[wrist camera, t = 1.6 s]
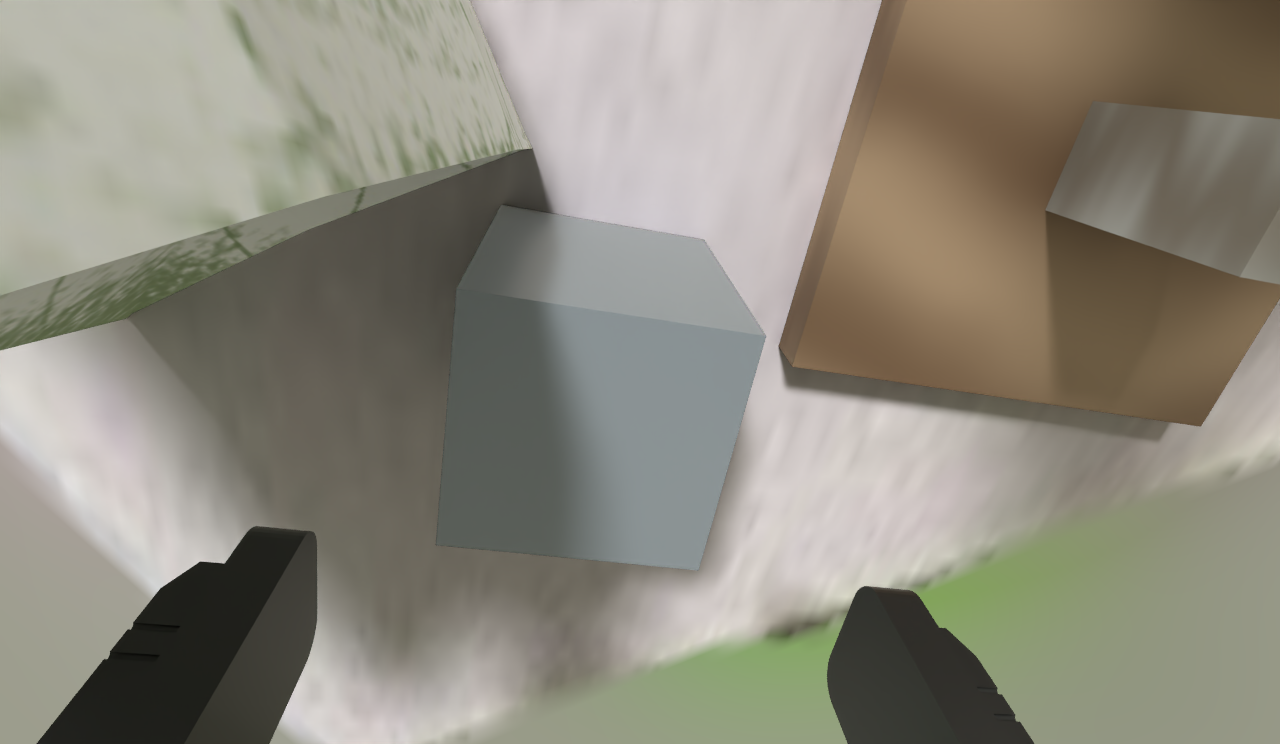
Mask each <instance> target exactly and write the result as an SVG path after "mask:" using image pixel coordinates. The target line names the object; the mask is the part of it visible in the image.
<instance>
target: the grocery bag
mask: <svg viewBox="0 0 1280 744" xmlns="http://www.w3.org/2000/svg"><path fill="white" fill-rule="evenodd" d="M524 149H533V148H532V147H531V145H530V143H529V141H528V139H527V137H526V135H525V132H524V130H523V127H522V125H521V123H520V120H519V118H518V115H517V113H516V111H515V108H514V106H513V103H512V101H511V98H510V96H509V94H508V91H507V89H506V86H505V84H504V81H503V79H502V77H501V74H500V72H499V69H498V67H497V65H496V62H495V60H494V57H493V55H492V52H491V50H490V48H489V45H488V43H487V40H486V38H485V36H484V33H483V31H482V28H481V26H480V23H479V21H478V19H477V16H476V14H475V11H474V9H473V7H472V4H471V2H470V0H0V350H4V349H8V348H12V347H15V346H19V345H23V344H27V343H31V342H35V341H39V340H43V339H47V338H51V337H55V336H59V335H63V334H67V333H70V332H74V331H78V330H82V329H86V328H90V327H94V326H98V325H102V324H106V323H110V322H114V321H118V320H122V319H126V318H128V317H129V316H130V315H131V314H132V313H134V312H136V311H138V310H140V309H142V308H145V307H147V306H149V305H151V304H153V303H155V302H157V301H159V300H161V299H163V298H166V297H168V296H170V295H172V294H174V293H176V292H178V291H180V290H182V289H185V288H187V287H189V286H191V285H193V284H195V283H197V282H199V281H201V280H203V279H206V278H208V277H210V276H212V275H214V274H216V273H218V272H220V271H222V270H225V269H227V268H229V267H231V266H233V265H235V264H237V263H239V262H241V261H243V260H246V259H248V258H250V257H252V256H254V255H256V254H258V253H260V252H262V251H265V250H267V249H269V248H271V247H273V246H275V245H277V244H279V243H281V242H283V241H286V240H288V239H290V238H292V237H294V236H296V235H298V234H300V233H302V232H304V231H307V230H309V229H311V228H314V227H317V226H320V225H322V224H325V223H328V222H330V221H333V220H336V219H338V218H341V217H344V216H346V215H349V214H352V213H354V212H357V211H360V210H362V209H365V208H368V207H371V206H373V205H376V204H379V203H381V202H384V201H387V200H389V199H392V198H395V197H397V196H400V195H403V194H405V193H408V192H411V191H414V190H416V189H419V188H422V187H424V186H427V185H430V184H432V183H435V182H438V181H440V180H443V179H446V178H448V177H451V176H454V175H456V174H459V173H462V172H465V171H467V170H470V169H473V168H475V167H478V166H481V165H483V164H486V163H489V162H491V161H494V160H497V159H499V158H502V157H505V156H507V155H510V154H513V153H516V152H518V151H521V150H524Z"/></svg>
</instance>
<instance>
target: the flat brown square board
mask: <svg viewBox="0 0 1280 744" xmlns="http://www.w3.org/2000/svg"><path fill="white" fill-rule="evenodd" d="M1279 299H1280V0H882V3H881V6H880V10H879V13H878V17H877V20H876V23H875V27H874V30H873V33H872V37H871V40H870V43H869V47H868V50H867V53H866V57H865V60H864V63H863V67H862V70H861V73H860V77H859V80H858V83H857V87H856V90H855V93H854V97H853V100H852V103H851V107H850V110H849V113H848V117H847V120H846V123H845V127H844V130H843V133H842V137H841V140H840V143H839V147H838V150H837V153H836V157H835V160H834V163H833V167H832V170H831V174H830V177H829V180H828V184H827V187H826V190H825V194H824V197H823V200H822V204H821V207H820V210H819V214H818V217H817V220H816V224H815V227H814V230H813V234H812V237H811V240H810V244H809V247H808V250H807V254H806V257H805V260H804V264H803V267H802V270H801V274H800V277H799V280H798V284H797V287H796V290H795V294H794V297H793V300H792V304H791V307H790V310H789V314H788V317H787V321H786V324H785V327H784V331H783V334H782V337H781V341H780V344H779V348H780V349H781V351H782V352H783V354H784V355H785V357H786V358H787V360H788V361H789V363H790V364H791V366H792V367H798V368H805V369H812V370H819V371H825V372H832V373H839V374H846V375H853V376H859V377H866V378H873V379H880V380H887V381H894V382H900V383H907V384H914V385H921V386H928V387H934V388H941V389H948V390H955V391H962V392H969V393H975V394H982V395H989V396H996V397H1003V398H1010V399H1016V400H1023V401H1030V402H1037V403H1044V404H1050V405H1057V406H1064V407H1071V408H1078V409H1085V410H1091V411H1098V412H1105V413H1112V414H1119V415H1126V416H1132V417H1139V418H1146V419H1153V420H1160V421H1166V422H1173V423H1180V424H1187V425H1194V426H1201V425H1202V424H1203V422H1204V421H1205V419H1206V417H1207V416H1208V414H1209V412H1210V411H1211V409H1212V408H1213V406H1214V404H1215V403H1216V401H1217V399H1218V398H1219V396H1220V395H1221V393H1222V391H1223V390H1224V388H1225V386H1226V385H1227V383H1228V382H1229V380H1230V378H1231V377H1232V375H1233V373H1234V372H1235V370H1236V369H1237V367H1238V365H1239V364H1240V362H1241V360H1242V359H1243V357H1244V356H1245V354H1246V352H1247V351H1248V349H1249V347H1250V346H1251V344H1252V343H1253V341H1254V339H1255V338H1256V336H1257V334H1258V333H1259V331H1260V330H1261V328H1262V326H1263V325H1264V323H1265V321H1266V320H1267V318H1268V317H1269V315H1270V313H1271V312H1272V310H1273V308H1274V307H1275V305H1276V304H1277V302H1278V300H1279Z"/></svg>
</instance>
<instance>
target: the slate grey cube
mask: <svg viewBox="0 0 1280 744" xmlns="http://www.w3.org/2000/svg"><path fill="white" fill-rule="evenodd" d="M765 338H766V335H765V333H764V332H763V330H762V329H761V327H760V326H759V324H758V323H757V321H756V319H755V318H754V316H753V315H752V313H751V312H750V310H749V309H748V307H747V305H746V304H745V302H744V301H743V299H742V298H741V296H740V295H739V293H738V292H737V290H736V288H735V287H734V285H733V284H732V282H731V281H730V279H729V278H728V276H727V274H726V273H725V271H724V270H723V268H722V267H721V265H720V264H719V262H718V260H717V259H716V257H715V256H714V254H713V253H712V251H711V250H710V248H709V247H708V245H707V243H706V242H705V240H703V239H697V238H691V237H685V236H680V235H674V234H668V233H662V232H656V231H651V230H645V229H639V228H633V227H628V226H622V225H616V224H610V223H604V222H599V221H593V220H587V219H581V218H575V217H570V216H564V215H558V214H552V213H546V212H541V211H535V210H529V209H523V208H517V207H512V206H506V205H501V206H500V208H499V210H498V212H497V213H496V215H495V217H494V219H493V221H492V223H491V225H490V227H489V228H488V230H487V232H486V234H485V236H484V238H483V240H482V242H481V243H480V245H479V247H478V249H477V251H476V253H475V255H474V257H473V258H472V260H471V262H470V264H469V266H468V268H467V270H466V272H465V273H464V275H463V277H462V279H461V281H460V283H459V285H458V287H457V288H456V299H455V312H454V324H453V337H452V349H451V362H450V374H449V387H448V399H447V412H446V424H445V437H444V449H443V462H442V474H441V487H440V499H439V512H438V524H437V537H436V545H440V546H450V547H461V548H471V549H481V550H492V551H502V552H512V553H523V554H533V555H543V556H554V557H564V558H574V559H585V560H595V561H605V562H616V563H626V564H636V565H647V566H657V567H667V568H678V569H688V570H699V567H700V563H701V560H702V556H703V553H704V550H705V546H706V543H707V539H708V536H709V532H710V529H711V525H712V522H713V518H714V515H715V511H716V508H717V505H718V501H719V498H720V494H721V491H722V487H723V484H724V480H725V477H726V473H727V470H728V466H729V463H730V460H731V456H732V453H733V449H734V446H735V442H736V439H737V435H738V432H739V428H740V425H741V421H742V418H743V415H744V411H745V408H746V404H747V401H748V397H749V394H750V390H751V387H752V383H753V380H754V376H755V373H756V370H757V366H758V363H759V359H760V356H761V352H762V349H763V345H764V342H765Z"/></svg>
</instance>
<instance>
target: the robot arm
mask: <svg viewBox="0 0 1280 744" xmlns="http://www.w3.org/2000/svg"><path fill="white" fill-rule="evenodd" d="M316 623H317V541H316V536H315V534H314V532H311V531H300V530H290V529H279V528H269V527H258V526H256V527H253V528H251V529H250V530H249V531H248V532H247V533H246V535H245V536H244V537H243V539H242V540H241V542H240V543H239V544H238V546H237V547H236V549H235V550H234V551H233V553H232V554H231V556H230V557H229V558H228V560H227V561H226V563H225V564H222V563H211V562H199V563H198V564H196V565H195V566H193V567H192V568H190V569H189V570H187V571H186V572H184V573H183V574H181V575H180V576H178V577H177V578H175V579H174V580H172V581H171V582H169V583H168V584H166V585H165V586H163V587H162V588H161V589H160V590H159V591H158V592H157V594H156V595H155V596H154V597H153V599H152V600H151V601H150V602H149V604H148V605H147V606H146V607H145V609H144V610H143V611H142V612H141V614H140V615H139V616H138V617H137V619H136V620H135V621H134V622H133V627H132V629H131V630H127V631H126V632H125V634H124V635H123V636H122V637H121V639H120V640H119V641H118V642H117V644H116V645H115V646H114V647H113V649H112V650H111V651H110V656H109V658H108V659H107V660H106V659H104V660H103V661H102V662H101V664H100V665H99V666H98V667H97V669H96V670H95V671H94V672H93V674H92V675H91V676H90V678H89V679H88V680H87V681H86V683H85V684H84V685H83V687H82V688H81V689H80V690H79V691H78V693H77V694H76V695H75V696H74V698H73V699H72V700H71V701H70V703H69V704H68V705H67V706H66V708H65V709H64V710H63V711H62V713H61V714H60V715H59V716H58V718H57V719H56V720H55V721H54V723H53V724H52V725H51V726H50V728H49V729H48V730H47V731H46V733H45V734H44V735H43V736H42V738H41V739H40V740H39V741H38V743H37V744H269V743H270V741H271V739H272V737H273V734H274V732H275V730H276V728H277V726H278V724H279V721H280V719H281V717H282V715H283V713H284V710H285V708H286V706H287V704H288V702H289V699H290V697H291V695H292V693H293V691H294V688H295V686H296V684H297V682H298V680H299V678H300V675H301V673H302V671H303V669H304V667H305V664H306V662H307V659H308V657H309V654H310V651H311V647H312V644H313V639H314V635H315V630H316ZM827 682H828V689H829V695H830V699H831V702H832V704H833V707H834V709H835V712H836V715H837V717H838V720H839V722H840V725H841V727H842V730H843V733H844V735H845V737H846V740H847V743H848V744H1034V742H1033V741H1032V739H1031V738H1030V736H1029V735H1028V733H1027V732H1026V730H1025V729H1024V727H1023V726H1022V724H1021V723H1020V722H1016V720H1015V714H1014V712H1013V711H1012V709H1011V708H1010V706H1009V705H1008V703H1007V702H1006V700H1005V699H1004V697H1003V696H1002V695H999V694H998V693H997V687H996V685H995V684H994V682H993V681H992V679H991V678H990V676H989V675H988V673H987V672H986V670H985V669H984V668H983V666H982V664H981V663H980V661H979V660H978V658H977V657H976V656H975V655H974V654H973V653H972V652H971V651H970V650H969V649H968V648H967V647H966V646H964V645H963V644H962V643H961V642H960V641H959V640H958V639H957V638H956V637H955V636H953V634H951V633H950V632H949V631H948V630H947V629H946V628H939V627H938V625H937V624H936V622H935V621H934V619H933V618H932V616H931V614H930V613H929V611H928V610H927V608H926V607H925V605H924V603H923V602H922V600H921V599H920V597H919V596H918V595H917V594H916V593H914V592H913V591H910V590H901V589H890V588H880V587H869V586H864V587H862V588H860V589H859V590H858V591H857V593H856V594H855V597H854V599H853V601H852V604H851V606H850V609H849V611H848V614H847V616H846V618H845V621H844V623H843V626H842V628H841V631H840V633H839V636H838V638H837V641H836V643H835V646H834V648H833V650H832V653H831V655H830V658H829V663H828V671H827Z"/></svg>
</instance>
